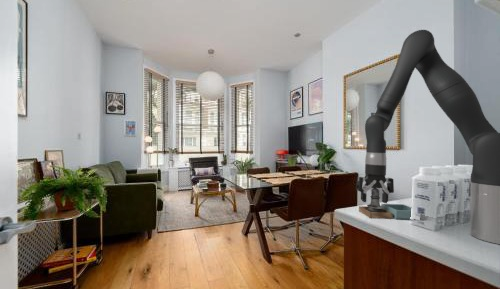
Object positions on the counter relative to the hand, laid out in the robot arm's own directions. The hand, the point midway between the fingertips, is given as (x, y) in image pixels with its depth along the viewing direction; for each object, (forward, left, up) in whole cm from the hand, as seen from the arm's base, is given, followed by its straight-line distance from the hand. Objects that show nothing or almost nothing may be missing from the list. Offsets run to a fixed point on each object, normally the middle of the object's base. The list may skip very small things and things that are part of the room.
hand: (374, 202), depth 86 cm
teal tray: (-10, +1, -5) cm, 12 cm away
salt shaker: (0, 0, -5) cm, 5 cm away
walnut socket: (0, 0, -5) cm, 5 cm away
